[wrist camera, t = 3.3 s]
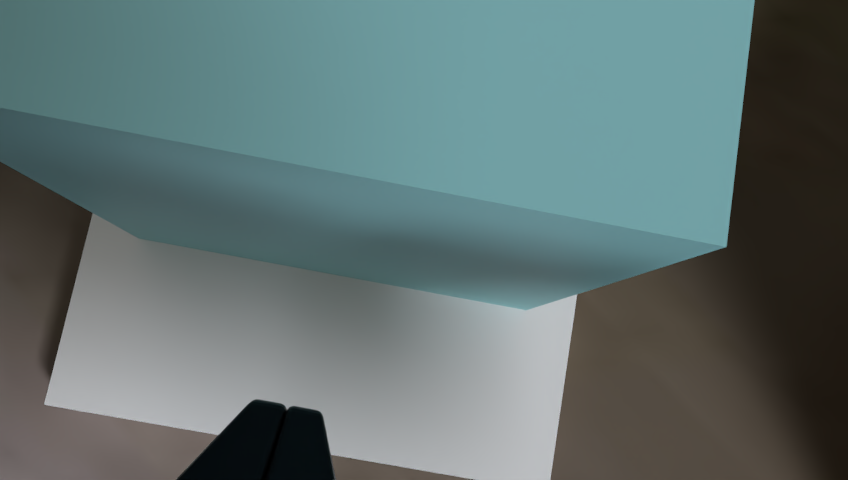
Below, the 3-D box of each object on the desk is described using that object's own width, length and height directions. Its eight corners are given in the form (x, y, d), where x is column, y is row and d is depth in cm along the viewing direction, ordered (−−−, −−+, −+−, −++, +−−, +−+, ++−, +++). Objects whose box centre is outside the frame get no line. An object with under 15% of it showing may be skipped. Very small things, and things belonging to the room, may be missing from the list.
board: (539, 486, 16) (548, 492, 16) (59, 402, 16) (44, 404, 15) (643, -223, 19) (655, -248, 18) (239, -313, 19) (233, -342, 18)
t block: (526, 310, 16) (726, 246, 7) (138, 238, 16) (-149, 78, 7) (574, -2, 17) (798, -385, 8) (214, -76, 17) (53, -560, 8)
